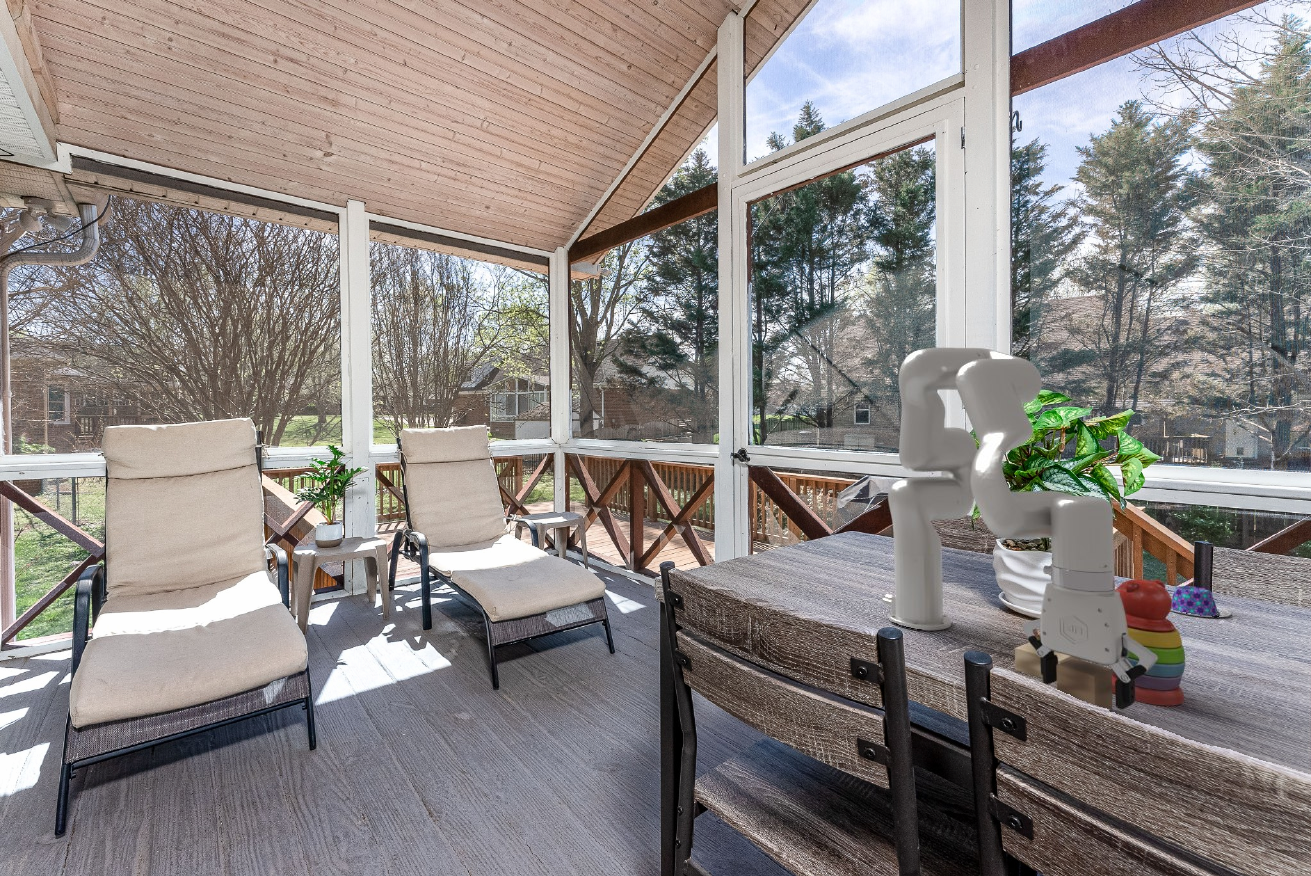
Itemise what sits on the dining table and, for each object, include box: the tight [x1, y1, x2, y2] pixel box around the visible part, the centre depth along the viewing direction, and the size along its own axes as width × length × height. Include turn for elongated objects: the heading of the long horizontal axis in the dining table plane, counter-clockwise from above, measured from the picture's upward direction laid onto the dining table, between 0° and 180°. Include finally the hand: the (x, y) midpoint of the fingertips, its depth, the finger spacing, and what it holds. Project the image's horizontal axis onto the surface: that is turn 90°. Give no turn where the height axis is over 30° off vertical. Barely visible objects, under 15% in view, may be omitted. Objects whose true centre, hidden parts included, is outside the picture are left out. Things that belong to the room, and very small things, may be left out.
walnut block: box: [1056, 658, 1113, 711], centre depth 86 cm, size 5×5×6 cm
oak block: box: [1014, 641, 1081, 684], centre depth 99 cm, size 7×7×4 cm
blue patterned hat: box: [1170, 585, 1232, 618], centre depth 130 cm, size 12×12×5 cm
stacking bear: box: [1110, 578, 1186, 707], centre depth 90 cm, size 11×10×18 cm
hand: (1085, 693), depth 86 cm, fingers open, 9 cm apart
